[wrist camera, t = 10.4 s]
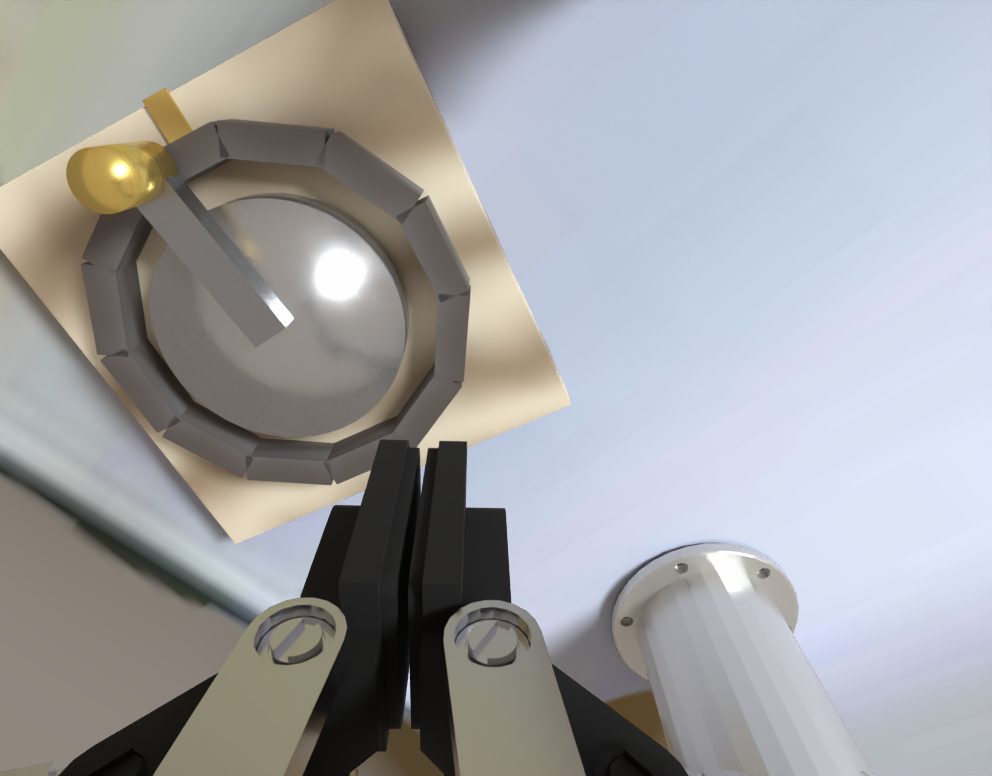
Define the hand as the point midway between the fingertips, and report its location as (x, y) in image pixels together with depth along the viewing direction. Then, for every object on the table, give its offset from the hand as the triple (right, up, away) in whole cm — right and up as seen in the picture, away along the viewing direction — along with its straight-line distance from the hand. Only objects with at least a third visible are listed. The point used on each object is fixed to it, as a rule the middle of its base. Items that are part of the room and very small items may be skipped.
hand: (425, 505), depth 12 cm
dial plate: (-9, +7, +22) cm, 25 cm away
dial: (-10, +7, +19) cm, 23 cm away
